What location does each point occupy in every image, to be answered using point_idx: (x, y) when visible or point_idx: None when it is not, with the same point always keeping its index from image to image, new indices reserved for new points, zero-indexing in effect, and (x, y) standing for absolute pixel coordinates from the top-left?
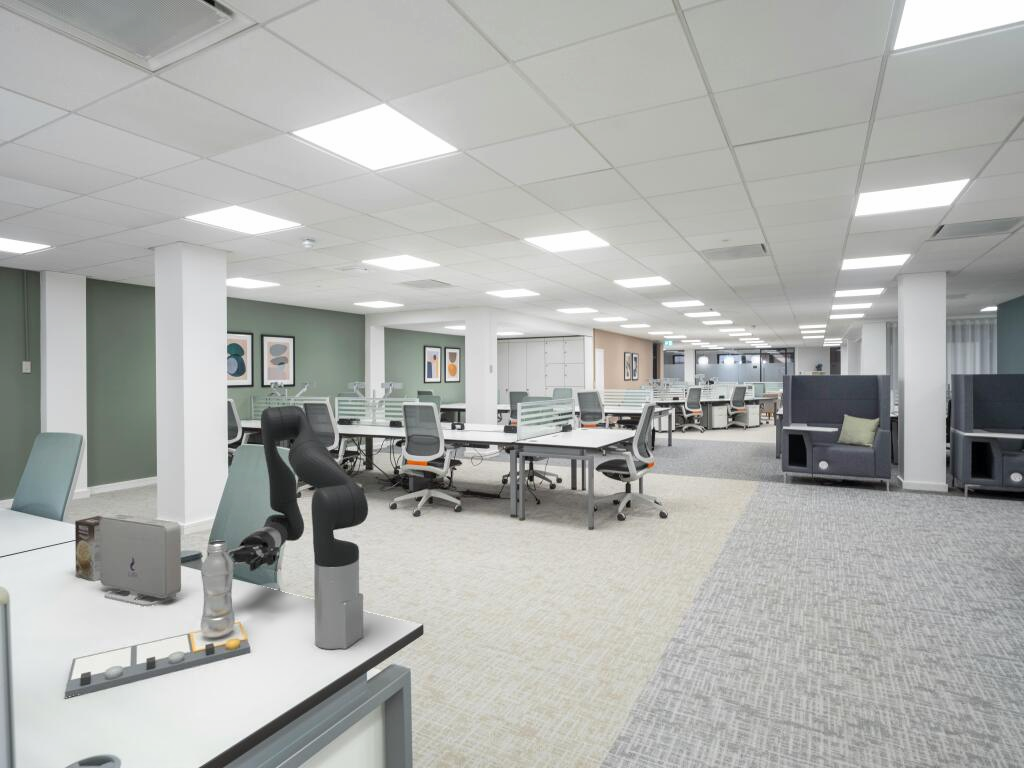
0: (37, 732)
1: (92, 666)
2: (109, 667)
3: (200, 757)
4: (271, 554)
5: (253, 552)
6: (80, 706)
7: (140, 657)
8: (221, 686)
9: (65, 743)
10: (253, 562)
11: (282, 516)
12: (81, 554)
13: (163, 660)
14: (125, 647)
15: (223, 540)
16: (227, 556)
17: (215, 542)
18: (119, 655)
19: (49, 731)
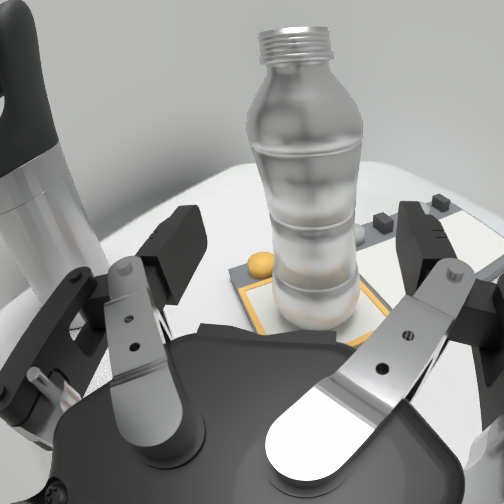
0: (411, 177)
1: (471, 230)
2: (444, 227)
3: (246, 164)
4: (73, 271)
5: (175, 341)
6: (410, 196)
7: None
8: (255, 215)
9: (370, 169)
10: (181, 207)
11: None
12: None
13: (376, 241)
14: (484, 277)
15: (277, 29)
16: (261, 85)
17: (313, 33)
18: (464, 251)
19: (401, 177)
